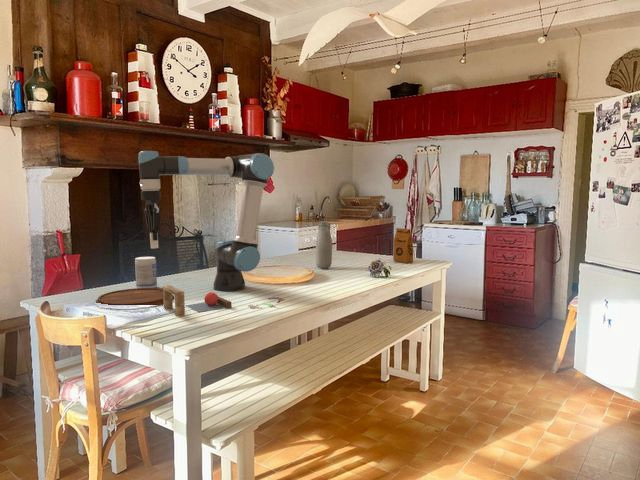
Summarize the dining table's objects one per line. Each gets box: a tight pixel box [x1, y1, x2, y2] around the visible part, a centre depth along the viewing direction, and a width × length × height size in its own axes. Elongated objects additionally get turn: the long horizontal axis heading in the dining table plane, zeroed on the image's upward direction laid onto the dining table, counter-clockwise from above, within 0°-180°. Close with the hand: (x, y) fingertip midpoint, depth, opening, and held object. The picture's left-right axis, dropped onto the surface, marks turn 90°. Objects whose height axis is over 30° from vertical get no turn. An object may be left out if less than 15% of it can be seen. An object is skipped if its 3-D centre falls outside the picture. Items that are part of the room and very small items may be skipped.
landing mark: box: [185, 301, 226, 313], centre depth 200 cm, size 13×13×1 cm
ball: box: [204, 291, 219, 306], centre depth 201 cm, size 6×6×6 cm
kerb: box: [216, 296, 233, 310], centre depth 203 cm, size 2×16×2 cm, turn 38°
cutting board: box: [94, 287, 175, 306], centre depth 210 cm, size 32×32×2 cm
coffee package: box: [393, 227, 415, 264], centre depth 313 cm, size 10×12×22 cm
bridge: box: [162, 284, 186, 317], centre depth 191 cm, size 3×15×9 cm, turn 38°
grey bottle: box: [315, 221, 333, 270], centre depth 288 cm, size 10×10×28 cm
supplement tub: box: [134, 256, 158, 288], centre depth 234 cm, size 10×10×15 cm
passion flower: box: [365, 258, 392, 279], centre depth 266 cm, size 11×11×12 cm
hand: (154, 248), depth 198 cm, fingers closed
